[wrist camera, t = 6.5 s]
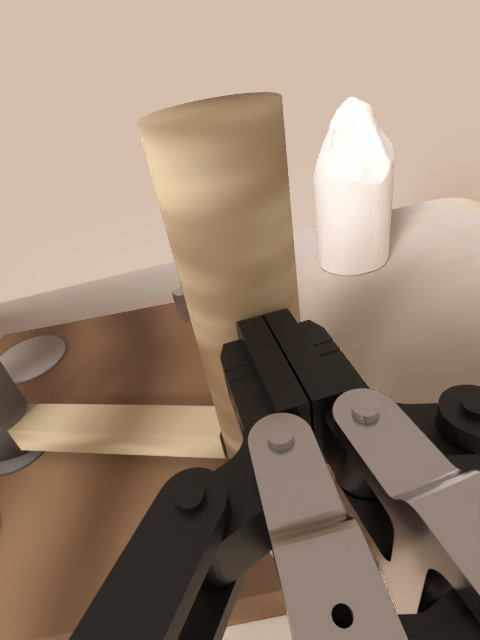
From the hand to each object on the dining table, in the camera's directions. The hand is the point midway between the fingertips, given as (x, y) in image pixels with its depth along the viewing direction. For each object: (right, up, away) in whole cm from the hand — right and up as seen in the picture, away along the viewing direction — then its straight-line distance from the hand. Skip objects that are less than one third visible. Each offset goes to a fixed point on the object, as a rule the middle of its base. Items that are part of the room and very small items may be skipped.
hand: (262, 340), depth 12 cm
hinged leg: (-5, -5, +7) cm, 10 cm away
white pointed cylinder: (+9, +6, +22) cm, 25 cm away
